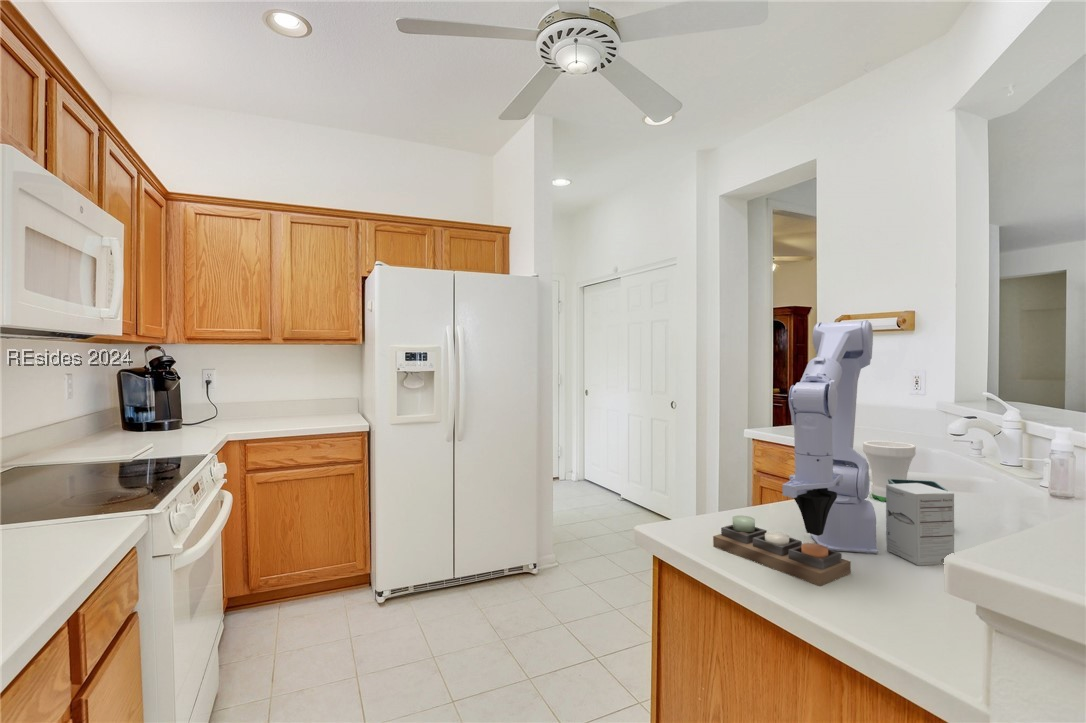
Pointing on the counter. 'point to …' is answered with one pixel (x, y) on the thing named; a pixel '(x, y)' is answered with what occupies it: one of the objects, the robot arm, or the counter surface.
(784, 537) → the cream button
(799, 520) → the counter surface
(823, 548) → the terracotta button
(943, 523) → the supplement box
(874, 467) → the cup
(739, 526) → the sage button
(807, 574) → the button board
